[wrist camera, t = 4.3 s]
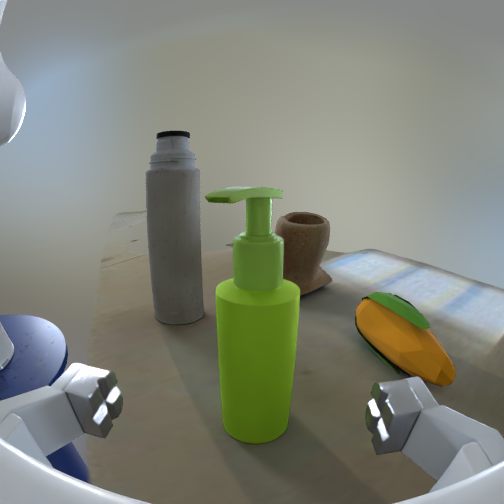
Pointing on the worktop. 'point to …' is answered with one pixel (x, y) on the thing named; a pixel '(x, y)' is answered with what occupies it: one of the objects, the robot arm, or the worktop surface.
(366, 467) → the worktop surface
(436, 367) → the corn
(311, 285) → the stone cup
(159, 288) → the thermos bottle
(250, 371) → the soap dispenser
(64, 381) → the robot arm
